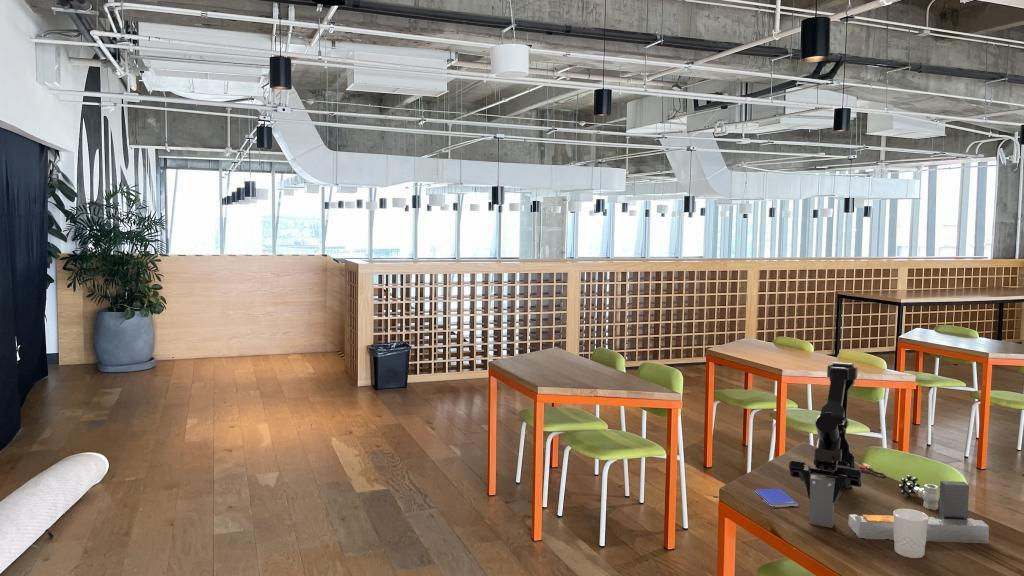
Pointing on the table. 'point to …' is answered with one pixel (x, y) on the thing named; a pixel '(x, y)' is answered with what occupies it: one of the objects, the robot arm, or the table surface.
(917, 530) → the white cup
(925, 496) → the valve
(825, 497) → the grey rectangular block
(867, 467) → the composite cable
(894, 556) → the table surface
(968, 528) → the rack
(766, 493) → the hard drive
